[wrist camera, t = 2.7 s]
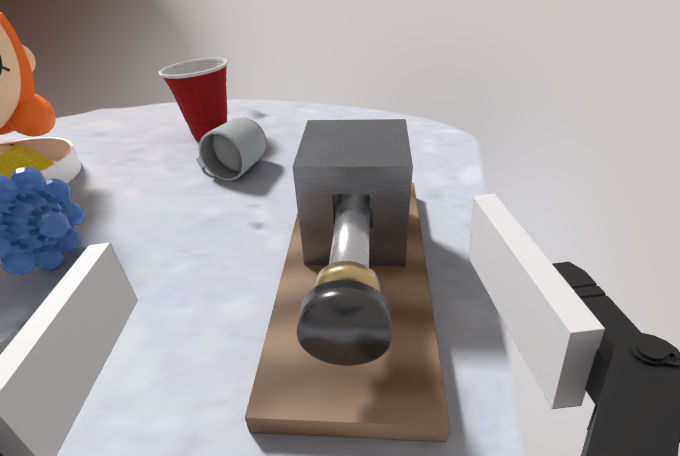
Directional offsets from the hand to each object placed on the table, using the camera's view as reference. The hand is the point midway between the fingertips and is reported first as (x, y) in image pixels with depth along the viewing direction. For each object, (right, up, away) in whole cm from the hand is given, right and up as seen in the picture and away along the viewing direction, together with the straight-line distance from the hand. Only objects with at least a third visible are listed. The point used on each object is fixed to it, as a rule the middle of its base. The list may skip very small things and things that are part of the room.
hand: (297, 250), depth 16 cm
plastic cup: (-21, +17, +58) cm, 64 cm away
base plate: (+3, -4, +28) cm, 28 cm away
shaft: (+3, -3, +20) cm, 20 cm away
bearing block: (+3, 0, +30) cm, 30 cm away
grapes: (-29, -4, +31) cm, 42 cm away
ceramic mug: (-15, +10, +48) cm, 51 cm away
